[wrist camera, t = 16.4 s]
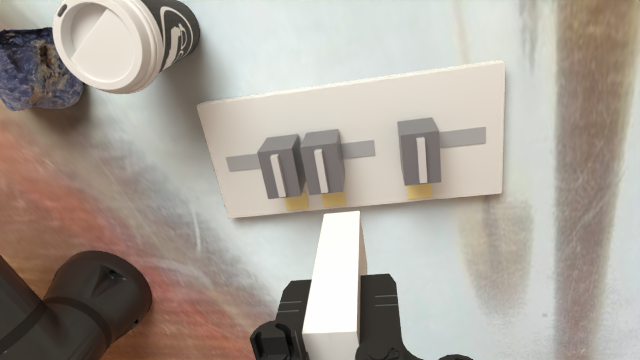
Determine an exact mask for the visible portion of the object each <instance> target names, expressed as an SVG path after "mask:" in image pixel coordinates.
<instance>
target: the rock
mask: <svg viewBox="0 0 640 360" xmlns="http://www.w3.org/2000/svg"><path fill="white" fill-rule="evenodd" d="M82 91H83V84H82V81H81V80H79V79H78V78H77V77H76V76H75V75H73V74H72V73H71V72H70V70H69V69H68V68H67V67H66V66H65V64H64V63H63V61H62V60H61V58H60V56H59V54H58V52H57V49H56V46H55V43H54V39H53V28H52V27H49V28H48V27H46V28H42V29H32V30H3V31H1V32H0V99H1V100H2V101H3V103H4V104H5V106H6V107H7V108H8V109H10V110H11V111H20V110H24V109H27V108H35V107H41V108H47V109H65V108H67V107H70V106H72V105H74V104H75V103H77V102H78V100H79V99H80V96H81V94H82Z"/></svg>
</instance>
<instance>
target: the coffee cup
mask: <svg viewBox="0 0 640 360" xmlns="http://www.w3.org/2000/svg"><path fill="white" fill-rule="evenodd" d="M199 35H200V31H199V25H198V21H197V19H196V17H195V15H194V14H193V12H192V11H191V10H190V9H189V8H188V7H187V6H186V5H185V4H183V3H182V2H180V1H177V0H63V2H62V3H61V5H60V6H59V8H58V9H57V11H56V14H55V16H54V20H53V39H54V43H55V46H56V49H57V52H58V54H59V56H60V58H61V60H62V61H63V63H64V64H65V66H66V67H67V68H68V69H69V70H70V72H71V73H72V74H73V75H75V76H76V77H77V78H78V79H79V80H81V81H82V82H84V83H86V84H88V85H90V86H92V87H95V88H97V89H99V90H102V91H105V92H109V93H114V94H131V93H135V92H138V91H140V90H142V89H144V88H146V87H147V86H148V85H150V84H151V83H152V82H153V80H154V79H155V78H156V76H157V74H158V73H159V72H161V71H163V70H164V69H166V68H167V67H169V66H171V65H172V64H174V63H175V62H177V61H178V60H180V59H182V58H183V57H185V56H187V55H188V54H190V53H191V52H192V51H193V50H194V49H195V47H196V46H197V44H198V41H199Z"/></svg>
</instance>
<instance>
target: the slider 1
mask: <svg viewBox="0 0 640 360" xmlns="http://www.w3.org/2000/svg"><path fill="white" fill-rule="evenodd" d="M300 146H301V145H300V140H299V135H298V134H293V135H285V136H277V137H269V138H266V140H265V141H264V143H263V144H262V146H261V147H260V149H259V150H258V152H257V154H258V158H259V163H260V167H261V171H262V175H263V179H264V184H265V188H266V192H267V196H268V199H276V198H286V197H297V196H301V195H302V192H303V189H304V185H305V182H306V176H305V171H304V165H303V160H302V155H301V150H300Z"/></svg>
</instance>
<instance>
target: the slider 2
mask: <svg viewBox="0 0 640 360" xmlns="http://www.w3.org/2000/svg"><path fill="white" fill-rule="evenodd" d="M300 150H301V155H302V160H303V165H304V171H305V176H306V181H307V186H308V191H309V195H317V194H327V193H337V192H343V189H344V180H345V169H344V163H343V156H342V149H341V142H340V136H339V129H334V130H326V131H317V132H309V133H306V134H305V137H304V139H303V141H302V144H301V146H300Z"/></svg>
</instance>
